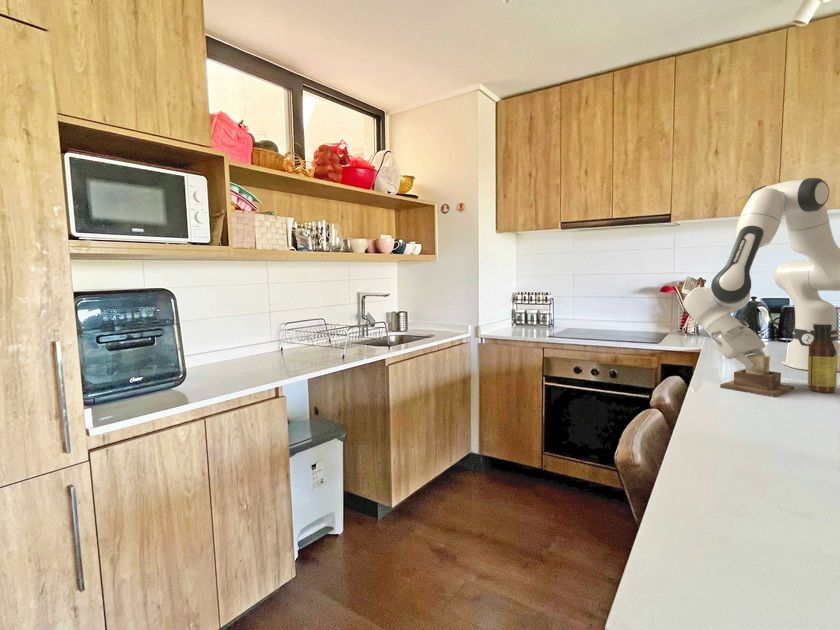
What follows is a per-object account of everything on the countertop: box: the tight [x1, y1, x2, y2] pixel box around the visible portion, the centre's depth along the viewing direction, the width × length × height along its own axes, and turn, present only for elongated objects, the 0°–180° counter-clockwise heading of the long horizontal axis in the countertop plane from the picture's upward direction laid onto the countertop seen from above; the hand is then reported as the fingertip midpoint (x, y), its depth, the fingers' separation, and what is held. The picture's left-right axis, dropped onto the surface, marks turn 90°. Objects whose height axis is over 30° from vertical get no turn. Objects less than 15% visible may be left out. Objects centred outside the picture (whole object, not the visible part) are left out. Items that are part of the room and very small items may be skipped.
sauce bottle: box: [807, 323, 838, 394], centre depth 131 cm, size 6×6×20 cm
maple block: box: [745, 354, 771, 376], centre depth 136 cm, size 4×4×9 cm
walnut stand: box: [719, 368, 796, 398], centre depth 136 cm, size 14×14×5 cm
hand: (760, 364), depth 135 cm, fingers open, 8 cm apart
